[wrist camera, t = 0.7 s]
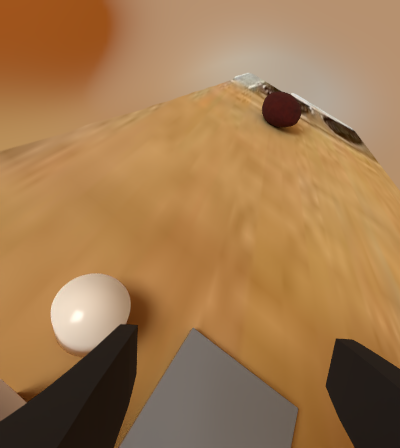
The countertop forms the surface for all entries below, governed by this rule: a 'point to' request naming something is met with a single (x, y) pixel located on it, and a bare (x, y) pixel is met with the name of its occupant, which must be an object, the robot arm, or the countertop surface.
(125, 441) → the plate
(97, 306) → the cream egg shape
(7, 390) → the walnut block
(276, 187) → the countertop surface
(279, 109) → the maroon ball
